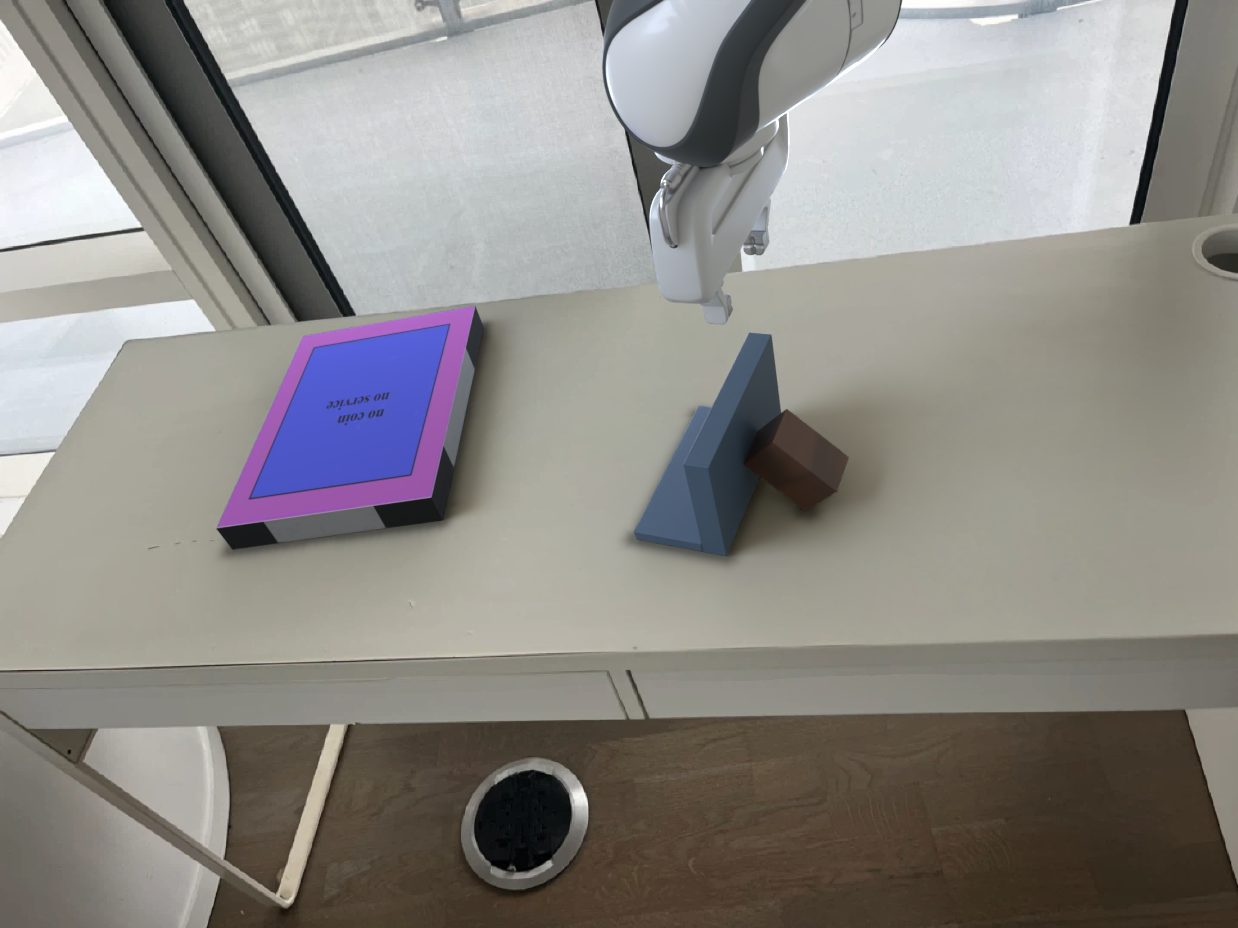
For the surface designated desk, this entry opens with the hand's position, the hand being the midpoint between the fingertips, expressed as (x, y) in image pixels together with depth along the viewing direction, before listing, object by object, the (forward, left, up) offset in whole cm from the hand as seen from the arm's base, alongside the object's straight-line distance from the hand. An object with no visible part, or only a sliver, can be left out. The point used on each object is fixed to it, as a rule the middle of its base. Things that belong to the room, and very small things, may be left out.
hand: (739, 283), depth 72 cm
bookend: (+2, +7, -15) cm, 17 cm away
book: (+40, +7, -16) cm, 44 cm away
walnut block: (-6, +7, -12) cm, 15 cm away
